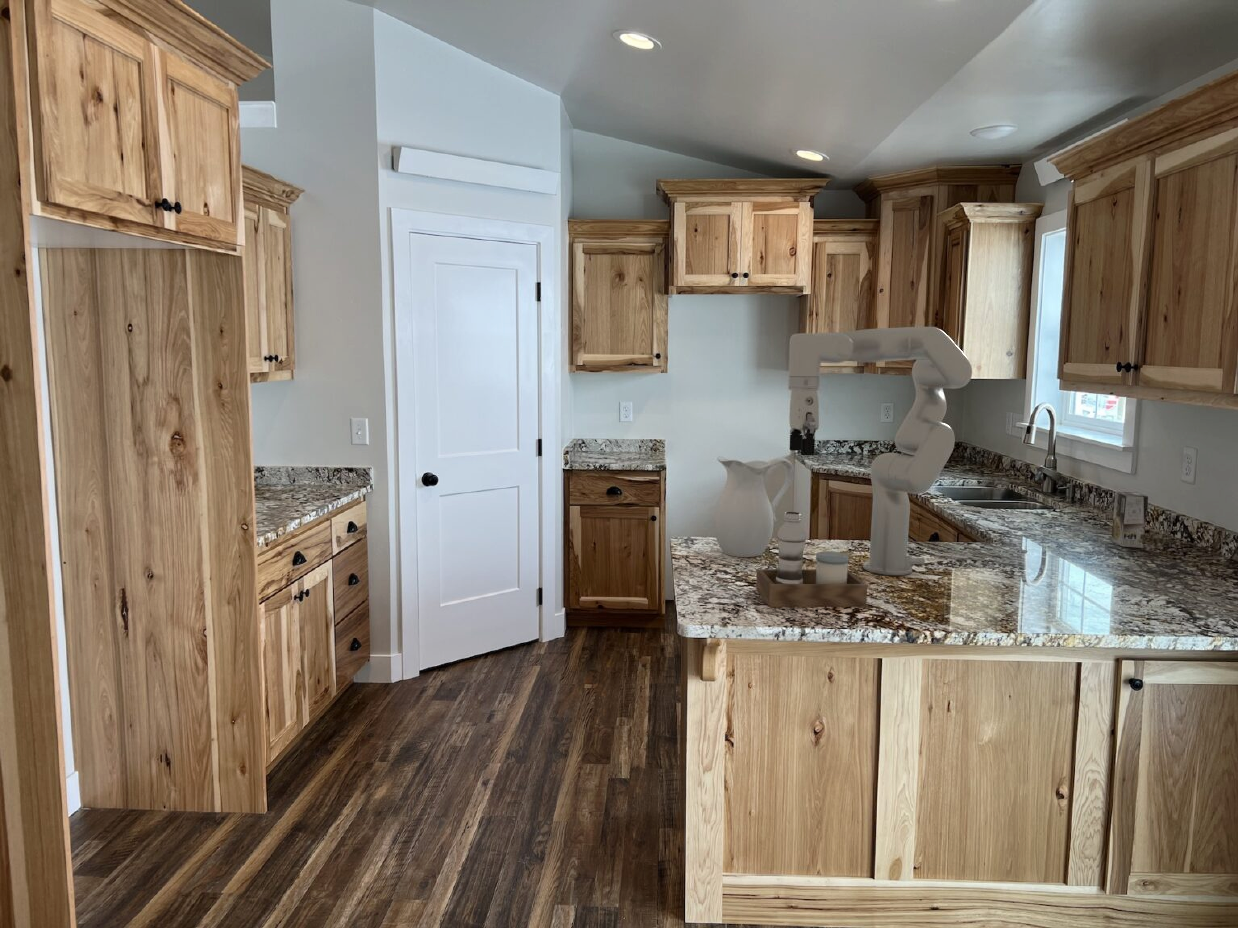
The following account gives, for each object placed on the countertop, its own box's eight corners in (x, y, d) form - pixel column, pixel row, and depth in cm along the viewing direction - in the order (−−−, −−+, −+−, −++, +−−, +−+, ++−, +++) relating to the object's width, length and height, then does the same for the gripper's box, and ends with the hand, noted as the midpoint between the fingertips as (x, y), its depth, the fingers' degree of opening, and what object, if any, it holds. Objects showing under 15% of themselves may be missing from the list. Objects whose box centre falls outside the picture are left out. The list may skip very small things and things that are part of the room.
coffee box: (1144, 548, 259) (1149, 496, 257) (1121, 546, 260) (1126, 495, 258) (1132, 541, 268) (1137, 491, 266) (1110, 540, 269) (1115, 490, 267)
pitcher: (726, 561, 234) (729, 461, 230) (704, 547, 250) (707, 454, 246) (804, 557, 240) (809, 460, 236) (778, 544, 256) (781, 453, 252)
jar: (840, 593, 201) (842, 551, 199) (851, 602, 193) (853, 558, 192) (810, 593, 200) (812, 551, 199) (819, 602, 193) (821, 558, 191)
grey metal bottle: (782, 591, 201) (785, 509, 198) (808, 597, 197) (812, 512, 194) (768, 597, 196) (772, 512, 193) (795, 603, 192) (799, 516, 189)
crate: (845, 593, 204) (846, 569, 203) (866, 610, 190) (867, 585, 189) (755, 593, 203) (756, 569, 202) (770, 611, 189) (771, 585, 188)
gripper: (830, 385, 200) (827, 457, 202) (808, 382, 217) (805, 448, 219) (799, 385, 199) (796, 457, 202) (779, 382, 216) (777, 448, 219)
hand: (801, 452), depth 210 cm, fingers open, 9 cm apart
